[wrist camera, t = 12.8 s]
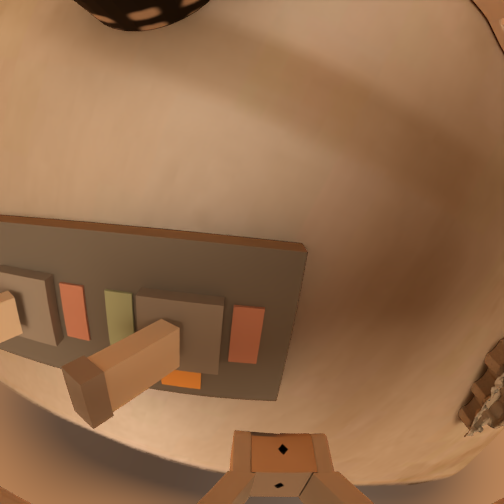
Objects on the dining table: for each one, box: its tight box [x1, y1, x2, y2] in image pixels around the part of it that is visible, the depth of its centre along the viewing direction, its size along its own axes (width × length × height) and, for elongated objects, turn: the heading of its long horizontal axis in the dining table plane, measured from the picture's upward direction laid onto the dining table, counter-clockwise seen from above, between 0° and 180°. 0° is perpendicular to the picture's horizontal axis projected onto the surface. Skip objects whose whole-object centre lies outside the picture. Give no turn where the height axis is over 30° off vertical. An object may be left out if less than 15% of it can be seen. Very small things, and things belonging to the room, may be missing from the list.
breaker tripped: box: [61, 319, 180, 429], centre depth 13 cm, size 1×3×6 cm
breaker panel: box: [0, 215, 308, 401], centre depth 16 cm, size 32×10×2 cm, turn 83°
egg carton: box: [458, 339, 504, 437], centre depth 20 cm, size 11×8×4 cm
